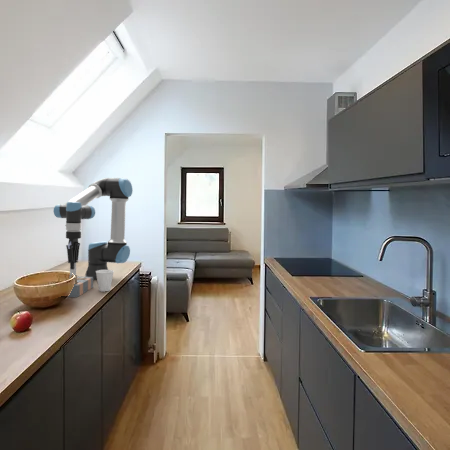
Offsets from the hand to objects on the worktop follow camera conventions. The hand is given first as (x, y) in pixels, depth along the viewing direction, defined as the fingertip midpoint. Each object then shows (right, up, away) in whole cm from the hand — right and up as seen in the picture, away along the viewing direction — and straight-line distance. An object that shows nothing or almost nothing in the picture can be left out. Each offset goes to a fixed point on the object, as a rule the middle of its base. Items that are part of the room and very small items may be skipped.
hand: (73, 274), depth 216 cm
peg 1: (0, -6, +1) cm, 6 cm away
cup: (+13, -10, +11) cm, 21 cm away
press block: (0, -10, +7) cm, 12 cm away
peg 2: (0, -10, +13) cm, 16 cm away
